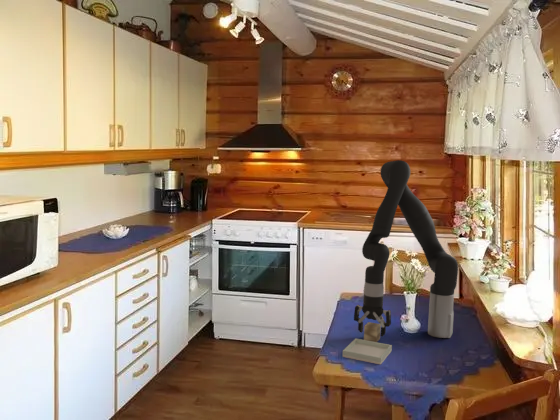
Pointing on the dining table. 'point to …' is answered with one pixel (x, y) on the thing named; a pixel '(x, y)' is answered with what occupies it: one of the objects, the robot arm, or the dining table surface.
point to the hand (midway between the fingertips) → (371, 333)
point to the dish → (367, 351)
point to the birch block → (372, 332)
